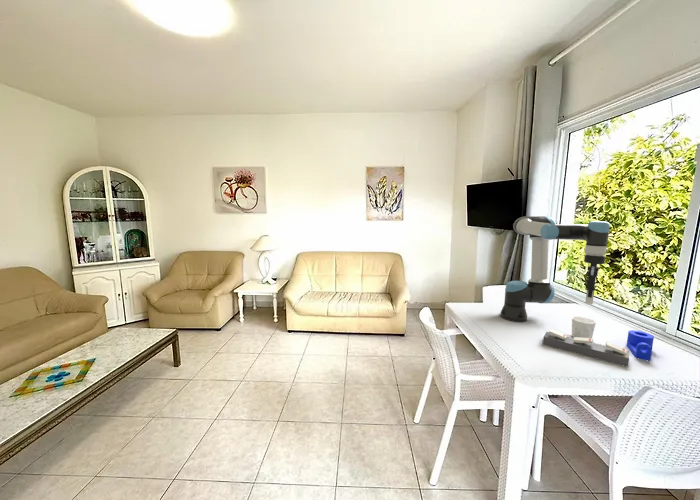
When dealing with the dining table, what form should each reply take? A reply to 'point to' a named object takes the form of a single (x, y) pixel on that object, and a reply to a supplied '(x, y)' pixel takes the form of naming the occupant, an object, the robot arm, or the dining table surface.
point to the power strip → (587, 349)
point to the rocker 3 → (615, 348)
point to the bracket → (640, 344)
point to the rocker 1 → (558, 334)
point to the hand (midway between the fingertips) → (588, 303)
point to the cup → (582, 327)
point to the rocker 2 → (583, 340)
